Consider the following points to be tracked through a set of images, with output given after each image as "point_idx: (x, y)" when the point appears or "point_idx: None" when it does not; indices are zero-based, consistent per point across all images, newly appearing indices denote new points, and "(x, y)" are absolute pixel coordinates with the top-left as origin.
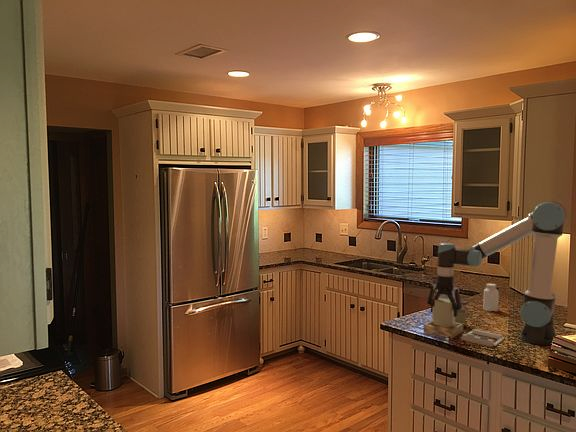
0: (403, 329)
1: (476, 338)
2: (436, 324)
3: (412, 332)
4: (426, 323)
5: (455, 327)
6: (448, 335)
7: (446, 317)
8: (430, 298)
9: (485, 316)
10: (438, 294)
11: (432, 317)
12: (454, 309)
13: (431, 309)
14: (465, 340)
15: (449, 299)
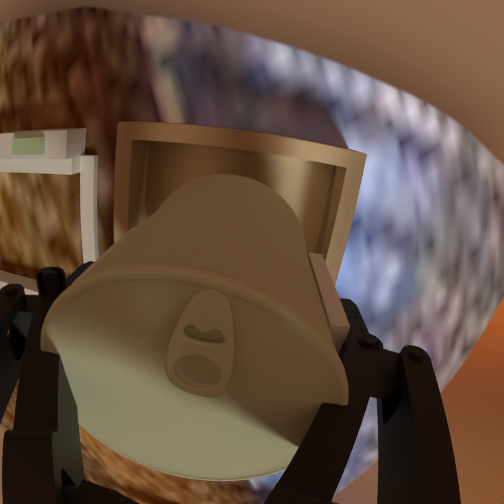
0: (463, 147)
1: (8, 133)
2: (265, 185)
3: (408, 106)
4: (353, 194)
5: (122, 216)
6: (160, 122)
7: (158, 210)
8: (415, 407)
9: (167, 482)
10: (278, 495)
11: (323, 262)
12: (45, 272)
13: (354, 315)
14: (67, 128)
15: (57, 394)
